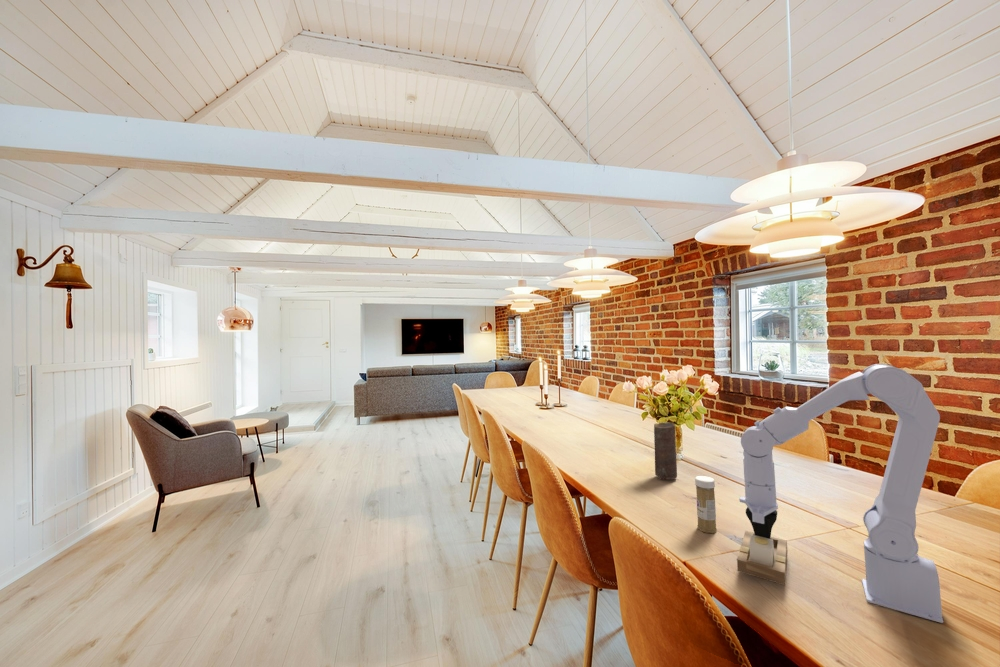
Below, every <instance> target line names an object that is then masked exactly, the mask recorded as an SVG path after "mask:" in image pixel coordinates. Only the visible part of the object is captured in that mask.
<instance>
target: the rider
mask: <svg viewBox="0 0 1000 667" xmlns="http://www.w3.org/2000/svg"><path fill="white" fill-rule="evenodd" d="M749 549H750V561H753V562H757V563H760V564H764V565H768V566H771V567H773V565H774V545H773V540H772V539H768V538H764V537H760V536H755V535H751V539H750V543H749Z"/></svg>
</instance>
